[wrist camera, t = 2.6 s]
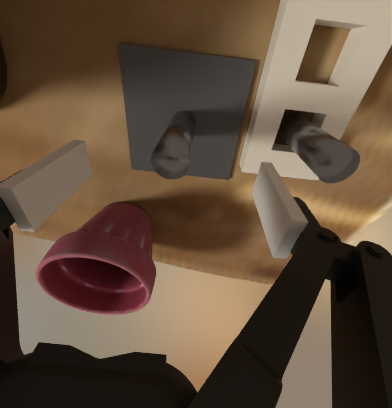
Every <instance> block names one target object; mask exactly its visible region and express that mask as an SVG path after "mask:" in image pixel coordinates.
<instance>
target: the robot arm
mask: <svg viewBox="0 0 392 408" xmlns="http://www.w3.org/2000/svg"><path fill="white" fill-rule="evenodd" d="M5 86H6V66H5V61H4V56H3V53H2V49H1V46H0V99H1V97H2V95H3V93H4V90H5ZM92 175H93V174H92V170H91V166H90V161H89V157H88V153H87V149H86V144H85V141H80V140H73V141H71V142H70V143H68V144H66V145H65V146H63V147H61V148H59V149H58V150H56V151H54V152H53V153H51V154H49V155H48V156H46V157H44V158H42V159H41V160H39V161H37V162H36V163H34V164H32V165H31V166H29V167H27V168H25V169H24V170H21V171H19V172H17V173H15V174H14V175H13V176H10V177H9V178H7V180H3V181H2V182H0V408H275V407H276V404H277V402H278V399H279V396H280V394H281V390H282V377H283V374H284V372H285V369H286V367H287V365H288V363H289V360H290V358H291V356H292V353H293V351H294V348H295V347H296V344H297V342H298V340H299V338H300V335H301V332H302V331H303V328H304V326H305V324H306V321H307V319H308V317H309V315H310V312H311V310H312V308H313V305H314V303H315V301H316V299H317V296H318V294H319V292H320V289H321V287H322V285H323V283H324V280H325V279H328V280H330V281H331V349H332V408H392V255H391V254H390V253H389V252H388V251H387V250H386V249H385V248H383V247H382V246H380V245H378V244H375V243H373V242H369V241H362V242H360V243H359V244H358V245H357V246H356V247H354V246H351V245H349V244H346V243H342V242H341V240H340V239H339V237H338V236H337V235H336V234H335V233H334V232H332V231H331V230H329V229H326V228H324V227H321V226H320V224H319V223H318V221H317V220H316V219H315V217H314V216H313V214H311V211H310V210H309V209H308V207H307V205H306V204H305V202H303V201H302V200H301V199H300V198H298V197H293V196H292V195H291V193H290V192H289V190H288V188H287V187H286V185H285V183H284V182H283V180H282V179H281V177H280V175H279V174H278V172H277V170H276V169H275V167H274V166H273V164H272V163H268V162H261V165H260V168H259V172H258V175H257V178H256V181H255V184H254V187H253V190H252V195H253V198H254V201H255V204H256V207H257V210H258V213H259V216H260V220H261V223H262V226H263V229H264V232H265V235H266V238H267V241H268V244H269V247H270V250H271V253H272V256H273V258H282V259H287V257H288V256H289V254H290V252H291V253H292V255H293V256H292V258H291V259H290V261H289V262H288V264H287V265H286V267H285V268H284V270H283V271H282V272H281V274H280V275H279V277H278V278H277V280H276V281H275V283H274V284H273V286H272V287H271V289H270V290H269V292H268V293H267V294H266V296H265V297H264V299H263V300H262V302H261V303H260V305H259V306H258V308H257V309H256V310H255V312H254V313H253V315H252V316H251V318H250V319H249V321H248V322H247V324H246V325H245V326H244V328H243V329H242V331H241V332H240V334H239V335H238V337H237V338H236V339H235V340H234V341H233V342H232V344H231V345H230V347H229V348H228V349H227V351H226V352H225V354H224V355H223V357H222V358H221V360H220V361H219V363H218V364H217V365H216V367H215V368H214V370H213V371H212V373H211V374H210V376H209V377H208V378H207V380H206V381H205V383H204V384H203V386H202V387H201V389H200V390H199V392H198V393H197V391H196V390H195V388H194V386H193V385H192V384H191V382H190V381H189V380H188V379H187V377H186V376H185V375H184V374H183V373H182V372H181V371H179V370H178V369H177V368H175V367H173V366H172V365H170V364H168V363H166V355H162V354H152V353H142V352H132V353H127V354H123V355H118V356H113V357H108V358H103V359H98V358H95V357H93V356H91V355H89V354H87V353H85V352H83V351H81V350H79V349H76V348H75V347H73V346H70V345H60V344H51V343H41V342H40V343H38V345H37V346H36V348H35V349H34V351H33V352H32V353H29V354H26V355H24V354H23V352H22V350H21V347H20V342H19V327H18V310H17V294H16V279H15V263H14V247H13V232H12V230H11V228H10V226H11V225H12V224H13V223H14V222H16V224H17V226H18V227H19V229H20V230H24V231H33V232H34V231H35V230H37V229H38V228H39V227H40V226H41V225H42V224H43V223H44V222H45V221H46V220H47V219H48V218H49V217H50V216H51V215H52V214H53V213H54V212H55V211H56V210H57V209H58V208H59V207H60V206H61V205H62V204H63V203H64V202H65V201H66V200H67V199H68V198H69V197H70V196H71V195H72V194H73V193H74V192H75V191H76V190H77V189H78V188H79V187H80V186H81V185H82V184H83V183H84V182H86V181H87V180H88V179H89V178H90V177H91V176H92Z"/></svg>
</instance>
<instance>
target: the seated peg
mask: <svg viewBox="0 0 392 408" xmlns="http://www.w3.org/2000/svg"><path fill="white" fill-rule="evenodd" d="M278 135H279V136H280V137H281V138H282V139H283V140H284V141H285V142H286V144H287V145H288V146H289V147H290V148H291V149H292V150H293V151H294V152H295V153H296V154H297V155H298V156H299V157H300V158H301V160H302V161H303V162H304V163H305V164H306V165H307V166H308V167H309V168H310V169H311V170H312V171H313V172H314V173H315V175H316V176H317V177H318V178H319V179H320V180H321V181H323V182H325V183H336V182H340V181H342V180H344V179H346V178H348V177H349V176H351V175H352V174H353V173H354V172H355V170H356V169H357V167H358V165H359V163H360V156H359V153H358V152H357V151H356V150H354V149H353V148H351V147H349V146H348V145H346V144H345V143H343V142H341V141H340V140H338V139H337V138H335V137H333V136H332V135H330V134H328V133H327V132H325V131H324V130H322V129H320V128H319V127H317V126H316V125H314V124H312V123H311V122H309V121H307V120H306V119H304V118H303V117H301V116H299V115H298V114H289V115H287V116H285V117H284V118H282V120H281V123H280V126H279V129H278Z"/></svg>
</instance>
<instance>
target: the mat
mask: <svg viewBox="0 0 392 408" xmlns="http://www.w3.org/2000/svg"><path fill="white" fill-rule="evenodd" d="M119 53H120V62H121V72H122V81H123V90H124V100H125V109H126V119H127V128H128V137H129V147H130V156H131V166H132V169H135V170H144V171H153V172H156V171H155V170H154V169H153V167H152V164H151V155H152V153H153V151H154V149H155V147H156V146H157V144H158V142H159V140H160V139H161V137H162V135H163V133H164V132H165V130H166V128H167V126H168V125H169V123H170V121H171V119H172V118H173V116H174V115H175V114H176V113H177V112H179V111H187V112H189V113H191V114H192V115H193V116H194V118H195V121H196V128H195V134H194V140H193V146H192V152H191V158H190V165H189V169H188V171H187V172H186V174H185V175H189V176H199V177H208V178H217V179H226V180H229V177H230V173H231V168H232V164H233V160H234V155H235V151H236V147H237V142H238V138H239V134H240V129H241V125H242V121H243V116H244V112H245V107H246V103H247V99H248V94H249V90H250V86H251V81H252V77H253V73H254V68H255V64H256V61H255V60H247V59H239V58H231V57H223V56H216V55H208V54H200V53H192V52H184V51H176V50H168V49H160V48H152V47H144V46H136V45H128V44H120V43H119Z"/></svg>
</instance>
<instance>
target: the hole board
mask: <svg viewBox="0 0 392 408" xmlns="http://www.w3.org/2000/svg"><path fill="white" fill-rule="evenodd" d="M314 24H315V25H323V26H331V27H338V28H346V29H351V30H350V32H349V35H348V37H347V39H346V42H345V44H344V46H343V49H342V51H341V53H340V56H339V58H338V60H337V63H336V65H335V67H334V70H333V72H332V74H331V76H330V79H329V81H328V83H327V84H322V83H313V82H305V81H297V80H296V77H297V74H298V71H299V68H300V65H301V62H302V59H303V56H304V53H305V50H306V47H307V45H308V42H309V39H310V36H311V33H312V30H313V27H314ZM391 45H392V0H280V4H279V8H278V12H277V16H276V20H275V24H274V28H273V32H272V36H271V40H270V44H269V48H268V52H267V56H266V60H265V64H264V68H263V72H262V76H261V80H260V84H259V88H258V91H257V95H256V99H255V103H254V107H253V111H252V115H251V119H250V123H249V127H248V131H247V135H246V139H245V143H244V147H243V151H242V155H241V159H240V163H239V164H240V167H241V171H242V172H247V173H256V174H258V172H259V168H260V165H261V162H268V163H272V164H273V166H274V167H275V169H276V170H277V172H278V174H279V175H280V176H283V177H292V178H301V179H311V180H318V179H319V178H318V177H317V176H316V175H315V173H314V172H313V171H312V170H311V169H310V168H309V167H308V166H307V165H306V164H305V163H304V162H303V161H302V160H301V158H300V157H299V156H298V155H297V154H296V153H295V152H294V151H293V150H292V149H291V148H290V147H289V146H288V145H281V144H274V141H275V138H276V135H277V132H278V129H279V126H280V123H281V120H282V117H283V114H284V112H285V109H289V110H297V111H305V112H314V113H315V114H314V116H313V118H312V121H311V123H312V124H314V125H316V126H317V127H319V128H320V129H322V130H324V131H325V132H327V133H328V134H330V135H332V136H333V137H335V138H337V139H338V140H340V139H341V137H342V135H343V133H344V131H345V130H346V128H347V126H348V124H349V122H350V120H351V119H352V117H353V115H354V113H355V111H356V109H357V108H358V106H359V104H360V102H361V100H362V98H363V96H364V95H365V93H366V91H367V89H368V87H369V85H370V84H371V82H372V80H373V78H374V76H375V74H376V73H377V71H378V69H379V67H380V65H381V63H382V62H383V60H384V58H385V56H386V54H387V52H388V51H389V49H390V47H391Z"/></svg>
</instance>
